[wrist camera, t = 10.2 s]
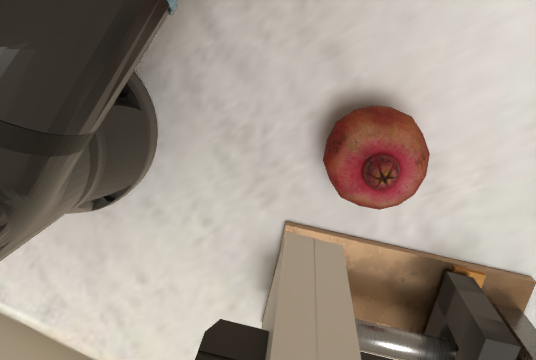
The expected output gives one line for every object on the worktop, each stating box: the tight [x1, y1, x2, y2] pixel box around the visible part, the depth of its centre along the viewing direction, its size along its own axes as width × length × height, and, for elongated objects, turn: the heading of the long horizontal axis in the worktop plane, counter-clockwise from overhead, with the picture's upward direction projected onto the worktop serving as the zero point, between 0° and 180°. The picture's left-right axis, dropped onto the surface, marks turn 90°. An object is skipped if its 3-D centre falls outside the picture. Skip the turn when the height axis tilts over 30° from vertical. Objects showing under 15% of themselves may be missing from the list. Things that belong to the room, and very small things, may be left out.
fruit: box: [323, 106, 430, 209], centre depth 37 cm, size 8×8×10 cm
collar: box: [424, 271, 521, 360], centre depth 39 cm, size 2×10×10 cm, turn 169°
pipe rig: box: [264, 221, 536, 360], centre depth 42 cm, size 23×11×9 cm, turn 78°
